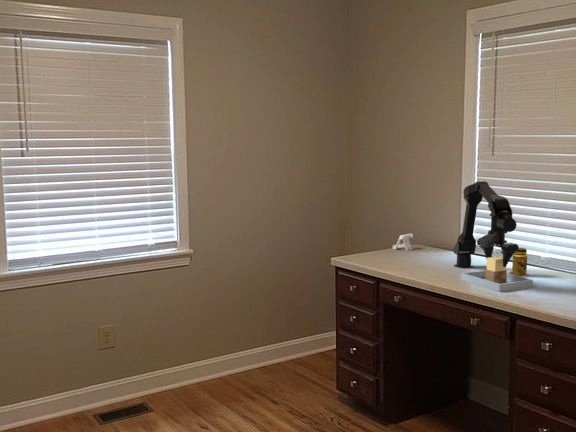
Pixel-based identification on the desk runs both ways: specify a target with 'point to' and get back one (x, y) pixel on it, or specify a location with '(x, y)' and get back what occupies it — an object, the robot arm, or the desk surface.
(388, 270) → the desk surface
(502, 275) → the walnut block
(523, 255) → the condiment
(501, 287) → the gray tray
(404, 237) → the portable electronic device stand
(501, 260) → the mustard box
